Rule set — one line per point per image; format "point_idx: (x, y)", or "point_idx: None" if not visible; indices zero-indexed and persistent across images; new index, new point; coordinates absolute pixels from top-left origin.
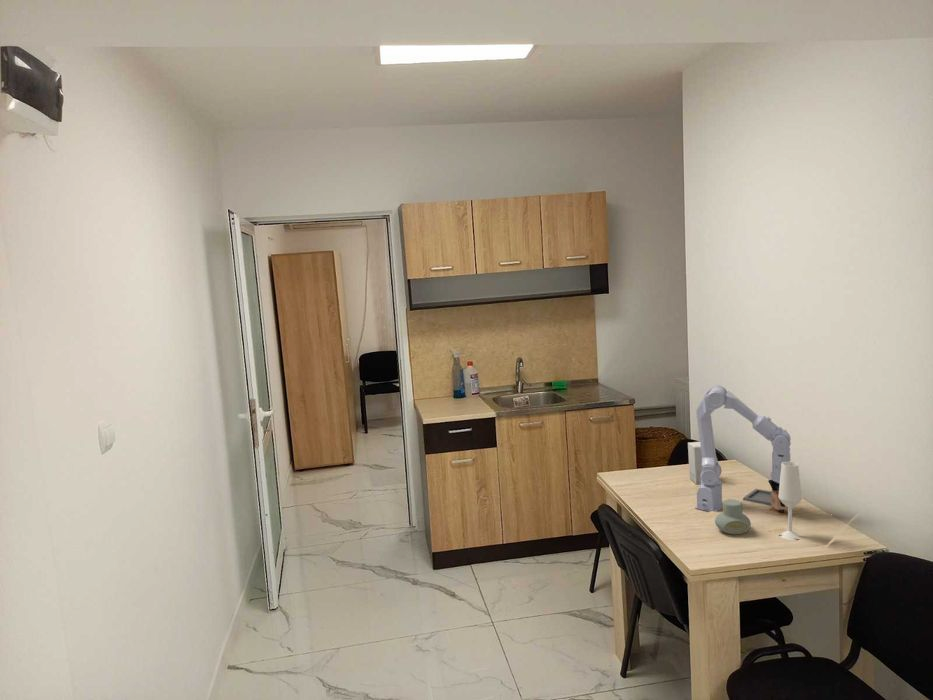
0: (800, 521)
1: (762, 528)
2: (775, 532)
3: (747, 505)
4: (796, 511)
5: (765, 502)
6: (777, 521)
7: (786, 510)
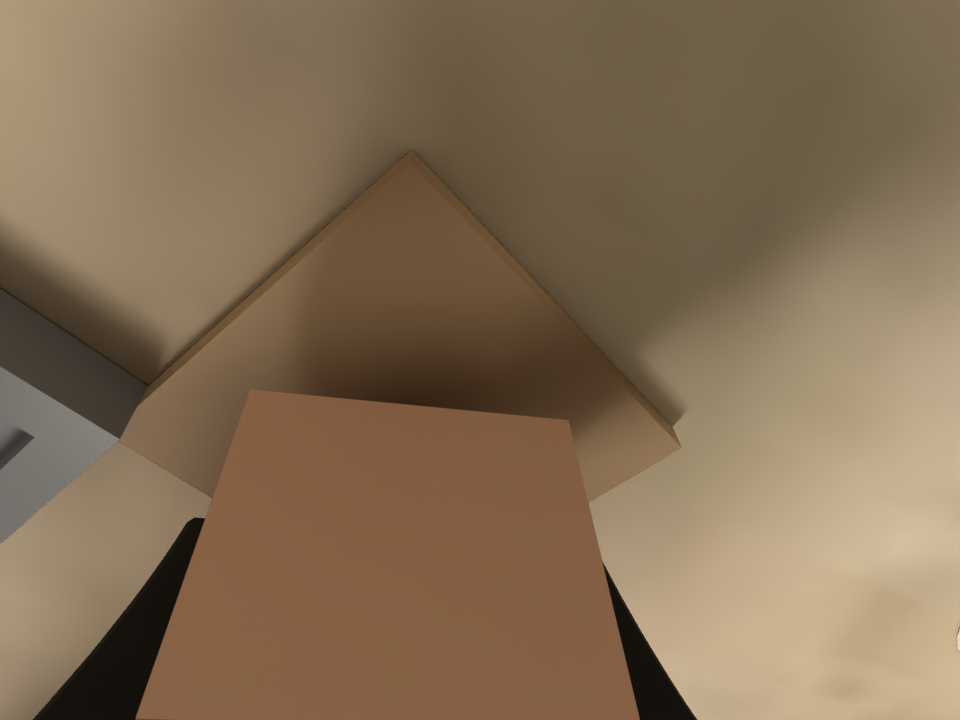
0: (811, 324)
1: (760, 711)
2: (907, 666)
3: (31, 640)
4: (442, 207)
5: (7, 536)
6: (662, 562)
7: (351, 347)
